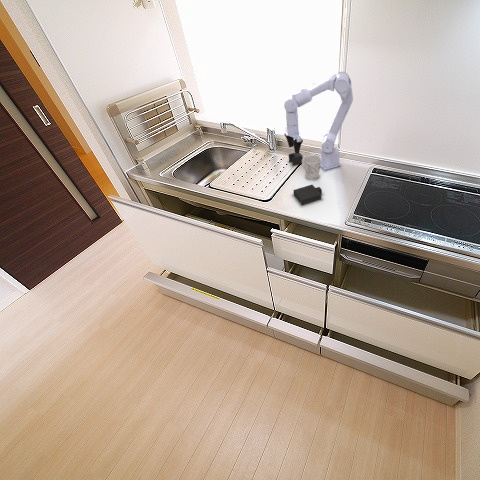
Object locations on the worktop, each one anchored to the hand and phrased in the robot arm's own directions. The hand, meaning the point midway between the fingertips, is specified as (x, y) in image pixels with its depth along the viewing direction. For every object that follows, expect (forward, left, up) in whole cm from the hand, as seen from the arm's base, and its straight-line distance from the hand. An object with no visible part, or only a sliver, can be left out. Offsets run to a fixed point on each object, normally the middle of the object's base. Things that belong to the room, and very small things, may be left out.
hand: (294, 149), depth 138 cm
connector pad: (-1, -1, -8) cm, 8 cm away
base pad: (+8, +31, -8) cm, 33 cm away
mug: (-2, +15, -8) cm, 17 cm away
